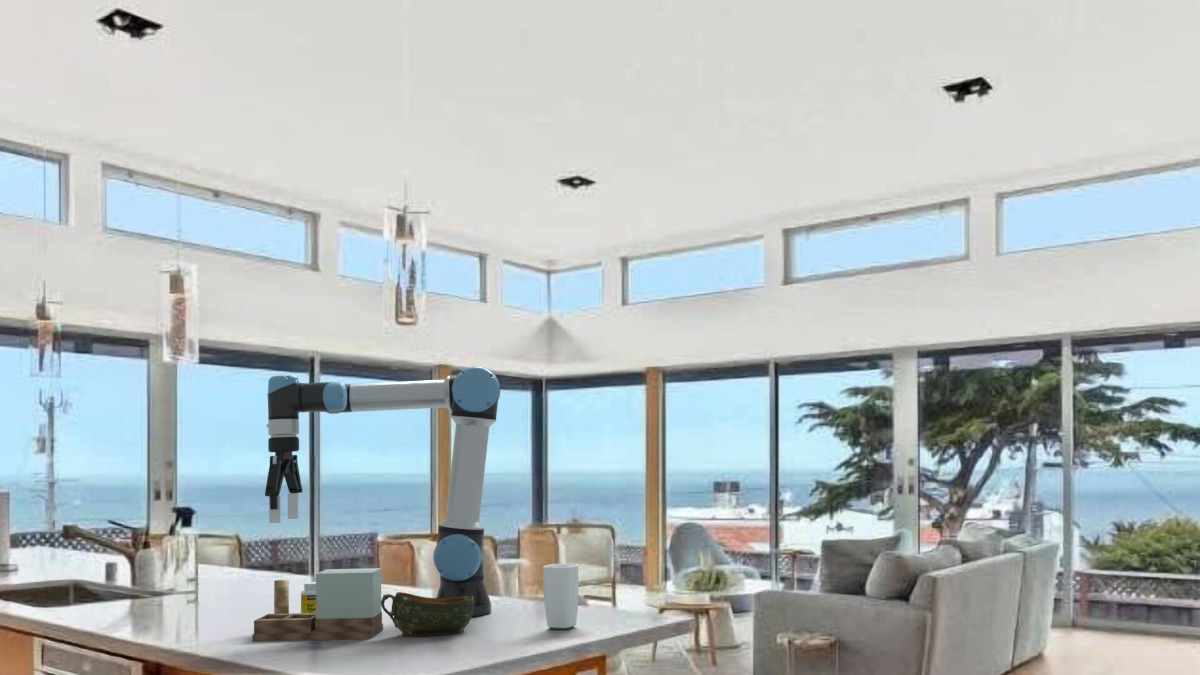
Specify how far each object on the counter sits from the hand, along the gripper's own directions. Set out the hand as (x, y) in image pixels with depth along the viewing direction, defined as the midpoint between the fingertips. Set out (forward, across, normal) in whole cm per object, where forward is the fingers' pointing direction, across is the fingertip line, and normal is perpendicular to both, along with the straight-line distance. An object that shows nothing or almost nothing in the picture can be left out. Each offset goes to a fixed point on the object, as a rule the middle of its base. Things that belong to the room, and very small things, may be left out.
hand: (284, 520), depth 273 cm
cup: (+28, +7, +70) cm, 76 cm away
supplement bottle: (+27, -6, +5) cm, 28 cm away
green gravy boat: (+27, +12, +39) cm, 49 cm away
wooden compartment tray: (+27, +12, +12) cm, 31 cm away
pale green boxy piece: (+22, +11, +19) cm, 32 cm away
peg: (+26, +3, 0) cm, 27 cm away
